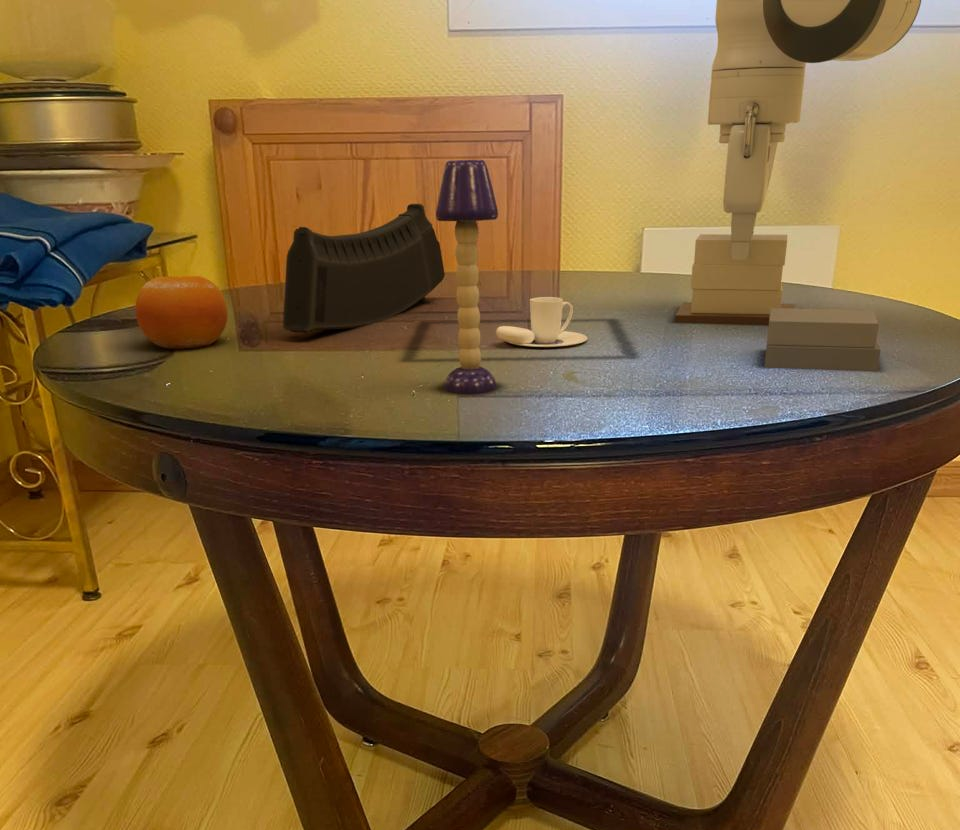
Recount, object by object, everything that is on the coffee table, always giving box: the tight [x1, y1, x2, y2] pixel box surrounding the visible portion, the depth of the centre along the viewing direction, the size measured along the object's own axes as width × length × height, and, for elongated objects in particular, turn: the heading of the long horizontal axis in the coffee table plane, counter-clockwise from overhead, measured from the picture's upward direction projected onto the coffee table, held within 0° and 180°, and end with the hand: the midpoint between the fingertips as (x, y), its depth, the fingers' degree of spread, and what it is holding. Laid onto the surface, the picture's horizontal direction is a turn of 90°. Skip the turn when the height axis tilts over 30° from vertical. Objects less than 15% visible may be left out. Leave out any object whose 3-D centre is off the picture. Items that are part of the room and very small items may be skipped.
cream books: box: [674, 263, 795, 326], centre depth 107 cm, size 12×9×6 cm
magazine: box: [282, 203, 446, 334], centre depth 109 cm, size 17×3×30 cm
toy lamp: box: [435, 159, 499, 395], centre depth 77 cm, size 5×5×17 cm
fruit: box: [134, 275, 228, 350], centre depth 99 cm, size 8×8×8 cm
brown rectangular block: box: [764, 307, 881, 372], centre depth 86 cm, size 9×7×4 cm
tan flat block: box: [693, 233, 788, 267], centre depth 105 cm, size 9×6×2 cm, turn 75°
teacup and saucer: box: [495, 296, 588, 348], centre depth 97 cm, size 9×8×4 cm
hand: (741, 254), depth 105 cm, fingers open, 8 cm apart
